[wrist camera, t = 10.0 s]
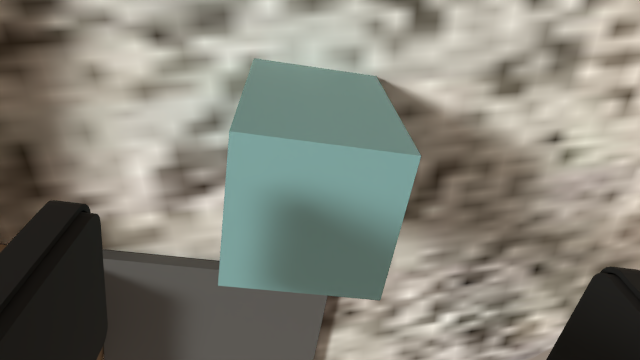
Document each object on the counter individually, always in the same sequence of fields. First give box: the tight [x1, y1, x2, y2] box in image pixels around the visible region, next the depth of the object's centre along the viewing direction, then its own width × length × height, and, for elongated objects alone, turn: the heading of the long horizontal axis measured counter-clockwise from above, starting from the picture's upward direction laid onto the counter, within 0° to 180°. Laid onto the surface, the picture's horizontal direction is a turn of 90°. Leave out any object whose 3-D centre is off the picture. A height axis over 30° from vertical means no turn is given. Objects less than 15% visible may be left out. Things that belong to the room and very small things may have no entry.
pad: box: [102, 250, 327, 360], centre depth 23 cm, size 10×10×1 cm
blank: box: [218, 58, 421, 300], centre depth 15 cm, size 4×4×7 cm
